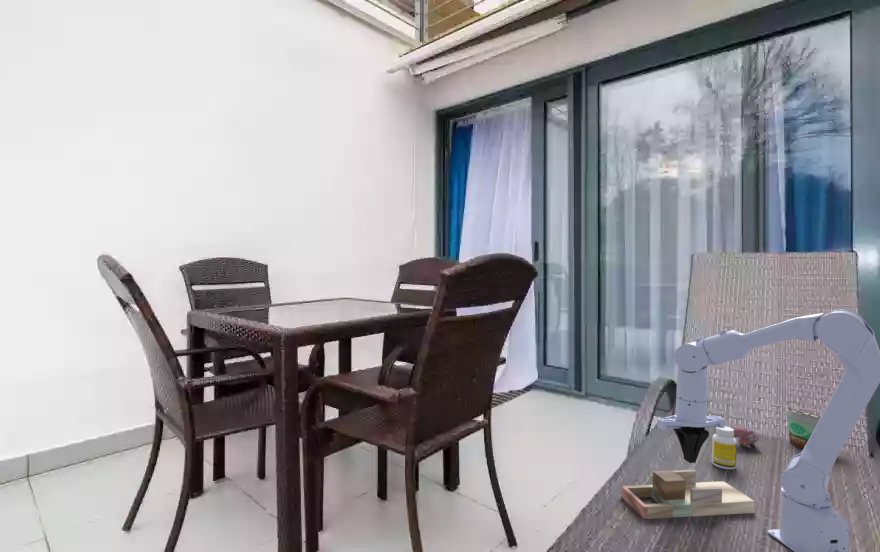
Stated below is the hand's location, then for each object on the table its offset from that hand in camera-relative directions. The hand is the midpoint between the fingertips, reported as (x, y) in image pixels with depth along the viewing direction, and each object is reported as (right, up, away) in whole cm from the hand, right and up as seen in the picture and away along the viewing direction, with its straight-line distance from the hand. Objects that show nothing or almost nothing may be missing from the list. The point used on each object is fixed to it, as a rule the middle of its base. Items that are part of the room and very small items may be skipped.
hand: (689, 460), depth 96 cm
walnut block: (-5, -7, -1) cm, 9 cm away
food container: (+51, -10, +32) cm, 61 cm away
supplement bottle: (+20, -10, +19) cm, 29 cm away
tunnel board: (-1, -9, 0) cm, 9 cm away
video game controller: (+32, -9, +34) cm, 48 cm away
